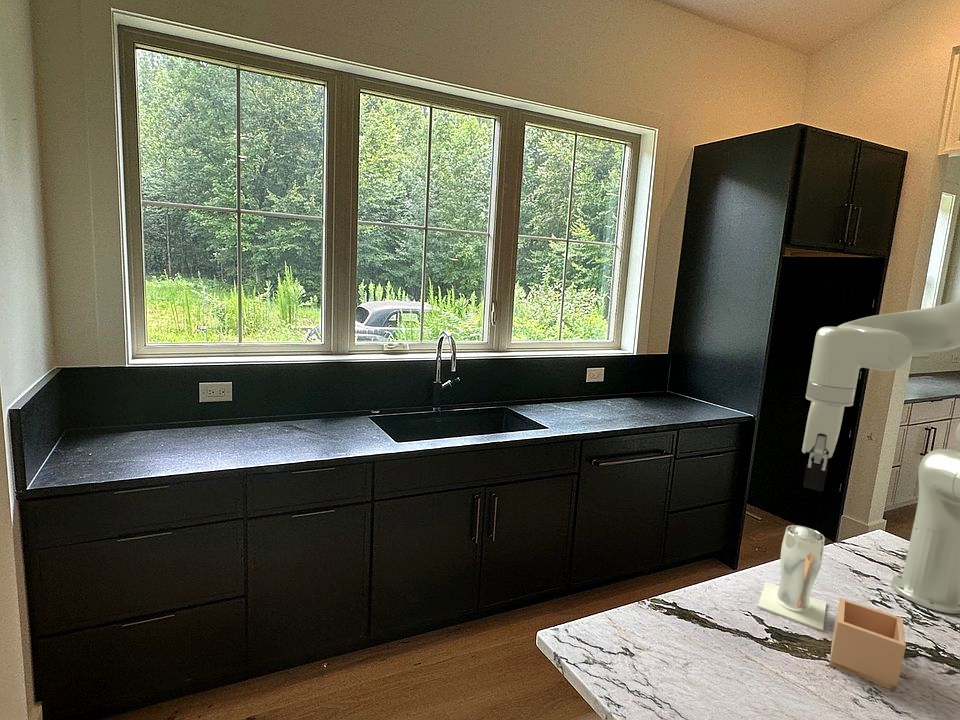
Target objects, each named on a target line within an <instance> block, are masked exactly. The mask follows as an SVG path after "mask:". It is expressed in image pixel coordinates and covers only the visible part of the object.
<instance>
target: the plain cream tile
mask: <svg viewBox="0 0 960 720" xmlns="http://www.w3.org/2000/svg"><path fill="white" fill-rule="evenodd" d="M779 586H780V585H778V584H777V585H776V584H775V583H772V582H769V581H765V583H764V586H763V588H762V591H761V594H760V598H759V601H758V603H757V607H758V609H760V608H761V610H763V611H766V612H769V613H771V614H774V615H777V616H779V615H780V617H782V618H785V619H788V620H790V621H793V622H796V623H798V624H802V625H804V626H806V627H810V628H811V629H812V628H813V629H816V630H818V631H821V632H824V626H825V625H824V624H825V618H826V617H825V616H826V608H827V601H824V600H821V599H818V598H815V597H812V596H810V610H809V611H808V612H804V613H801V612H795V611H791V610H789V609H787V608H785V607H783V606H781V605H780V604H779V603H778V602H777V601H776V599H775V596H776V593H777V591H778V588H779ZM757 607H756V608H757Z"/></svg>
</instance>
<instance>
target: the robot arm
mask: <svg viewBox="0 0 960 720" xmlns="http://www.w3.org/2000/svg"><path fill="white" fill-rule="evenodd" d="M956 348H960V299H958V300H955V301H951V302H948V303H944V304H940V305H936V306H932V307H929V308H920V309H911V310H904V311H898V312H892V313H889V312H888V313H885V314H876V315H875V314H874V315H870V316H866V317H865V316H864V317H862V318H858V319H855V320H851V321H848V322H847V321H846V322H844V323H842V324H839V325H837V326H823V327H820V328H819V329H818V330H817V331H816V335H815V338H814V343H813V351H812V356H811V357H812V358H811V362H810V363H811V364H810V368H809V373H808V374H809V375H808V379H807V380H808V381H807V386H806V393H805V399H806V400H808V401H810V406H809V410H808V414H807V420H806V425H805V432H804V437H803V443H802V448H801V452H802V453H803V454H806V453H809V458H808V463H807V465H806V466H805V471H804V478H803V484H802V487H803V488H805V489H809V490H814V491H818V492H823V491H824V489H825V482H826V477H827V474H828V468H829V463H830V459H831V458H832V457H833V454H834V452H835V449H836V445H837V444H838V443H837V442H838V439H839V436H840V433H841V432H840V431H841V427H842V422H843V417H844V413H845V407H852V406H854V401H855V396H856V391H857V384H858V380H859V373H860V370H861V369H862V368H864V369H871V370H875V371H879V372H880V371H882V372H892V371H895V370H896V371H897V370H899V369H902V368H904V367H905V366H906V365H907V364H908V363H910V361H911V359H912V357H913V356H914V355H913V354H914V352H922V353H925V352H926V353H927V352H928V353H930V352H932V353H933V352H935V353H936V352H946V351H950V350H954V349H956ZM955 438H956V441H958V443H959V444H960V422H959V423H958V425H957V427H956V429H955ZM917 472H918V474H917V475H918V499H917V506H916V510H915V516H914V520H913V525H912V530H911V534H910V540H909V544H908V549H907V554H906V557H905V563H904V568H903V573H902V574H898V575H895V576H893V577H892V580H891V586H892V588H893V589H894V591H896V593H898V594H899V595H901V596H902V597H903V598H905V599H907V600H909V601H911V602H913V603H915V604H917V605H919V606H921V607H924V608H925V609H929V610H933V611H936V612H941V613H945V614H951V615H952V614H955V615H958V614H960V451H958V450H954V449H949V448H939V449H934V450H931V451H929V452H927V453H926V454H925V455H924V456H923V457H922V459H921V460H920V462H919V466H918V471H917Z"/></svg>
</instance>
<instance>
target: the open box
mask: <svg viewBox="0 0 960 720" xmlns="http://www.w3.org/2000/svg"><path fill="white" fill-rule="evenodd" d="M838 600H839V601H838V605H837V612H836V616H835V621H834V624H833V625H834V626H833V630H832V631H833V632H832V636H831V645H830V657H829V658H830V659H829V666H831V667H834V668H836V669H839V670H841V671H844V672H846V673H849V674H851V675H854V676H856V677H859V678H862V679H864V680H867V681H870V683H871V682H872V683H875V684H877V685H879V686H882V687H885V688H887V689H890V690H893V691H895V692H897V690H898V684H899V679H900V675H901V670H902V666H903V661H904V657H905V651H906V649H907V644H906V635H905V628H904V619H903V617H900V616H896V615H894V614H892V613H888V612H885V611H882V610H880V609H876V608H873V607H869V606H866V605H864V604H860V603H858V602H855V601H853V600H849V599H845V598H842V597H839V599H838Z"/></svg>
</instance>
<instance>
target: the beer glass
mask: <svg viewBox="0 0 960 720" xmlns="http://www.w3.org/2000/svg"><path fill="white" fill-rule="evenodd" d="M825 540H826V538H825V535H824V534H822V533H821V532H819V531H817V530H815V529H813V528H809V527H807V526H802V525H795V524H793V525H792V524H791V525H788V526H786V527H785V532H784V535H783V539H782V542H781V549H780V558H779V559H780V562H779V563H780V581H779V582H780V583H779V585H778V586H779V588H778V591H777V593H776V596H775V599H776V601H777V602H778V603H779V604H780V605H781V606H783V607H785V608H787V609H789V610H791V611H795V612H801V613H804V612H808V611H809V610H810V597H811V594H812V593H811V592H812V589H813V586H814V584H815V581H816V580H817V577H818V574H819V573H820V569H821V566H822V562H823V559H824V551H825V550H824V549H825Z"/></svg>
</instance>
